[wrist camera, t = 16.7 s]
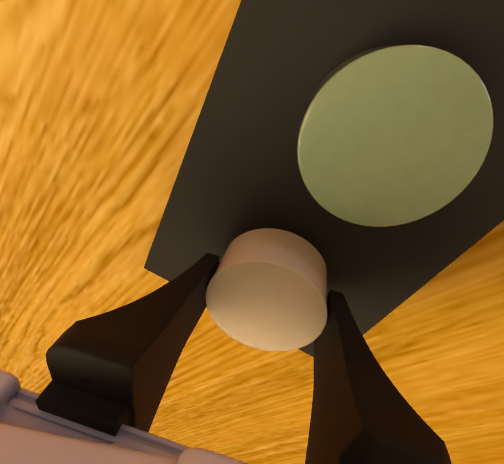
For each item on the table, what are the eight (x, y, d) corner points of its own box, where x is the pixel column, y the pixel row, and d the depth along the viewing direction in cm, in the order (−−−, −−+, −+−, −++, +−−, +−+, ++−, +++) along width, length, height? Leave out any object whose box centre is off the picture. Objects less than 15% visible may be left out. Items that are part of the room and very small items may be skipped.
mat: (654, 86, 9) (666, 87, 9) (327, 359, 19) (327, 364, 19) (298, -148, 9) (297, -156, 8) (146, 264, 18) (143, 267, 18)
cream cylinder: (343, 243, 14) (347, 284, 11) (309, 319, 17) (305, 365, 14) (232, 211, 14) (212, 244, 12) (217, 291, 17) (199, 331, 15)
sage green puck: (495, 96, 10) (546, 112, 8) (386, 215, 13) (398, 252, 11) (359, 12, 10) (369, 0, 7) (279, 153, 13) (267, 178, 10)
